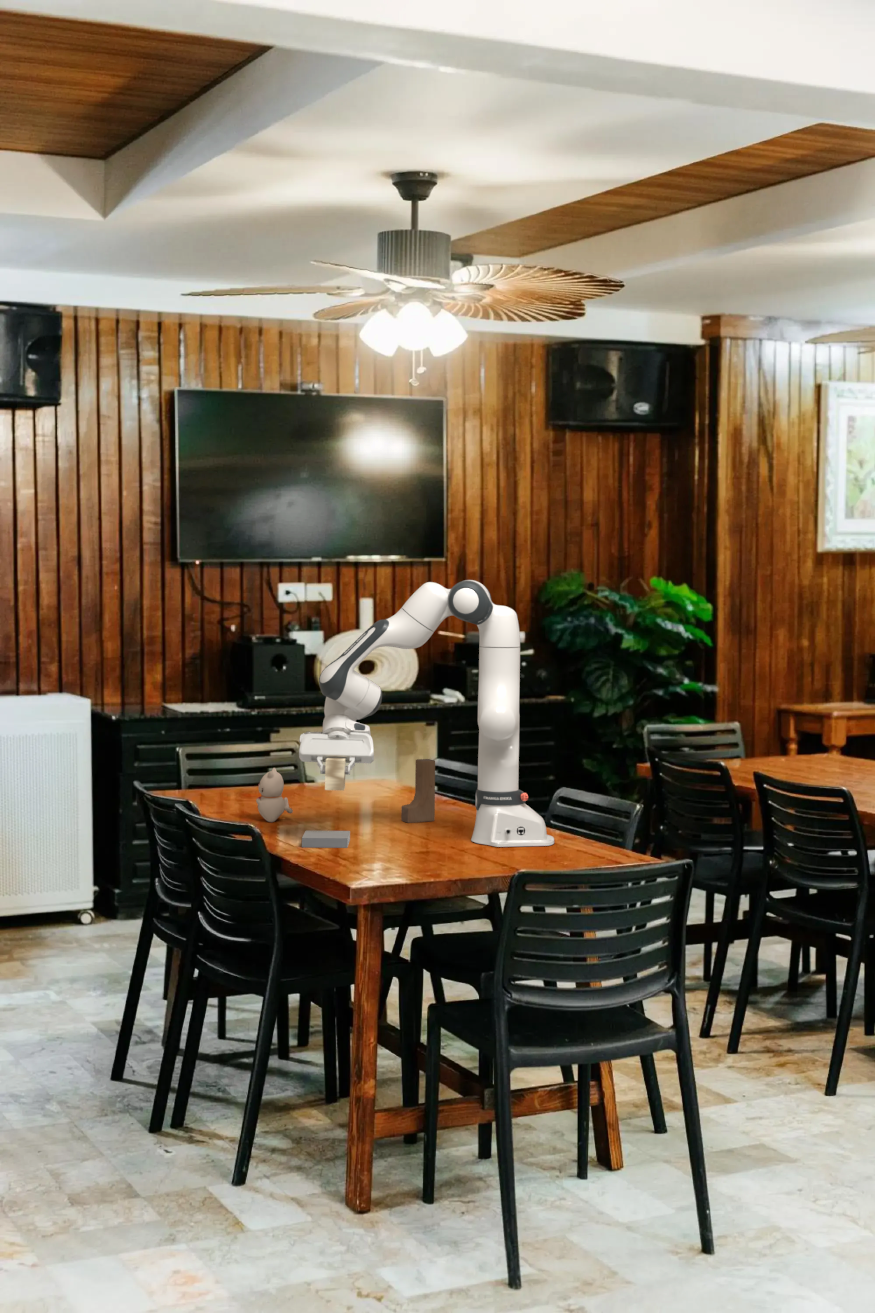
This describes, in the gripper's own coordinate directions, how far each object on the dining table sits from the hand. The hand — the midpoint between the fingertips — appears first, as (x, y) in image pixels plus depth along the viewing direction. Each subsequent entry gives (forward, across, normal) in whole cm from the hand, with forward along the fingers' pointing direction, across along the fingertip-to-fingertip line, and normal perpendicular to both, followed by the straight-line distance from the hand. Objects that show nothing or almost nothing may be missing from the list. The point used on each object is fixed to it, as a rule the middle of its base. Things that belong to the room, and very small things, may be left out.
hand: (335, 773), depth 408 cm
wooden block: (-15, +22, +42) cm, 50 cm away
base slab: (+13, -2, +14) cm, 19 cm away
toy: (-14, -20, +42) cm, 49 cm away
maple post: (+3, 0, +4) cm, 4 cm away
